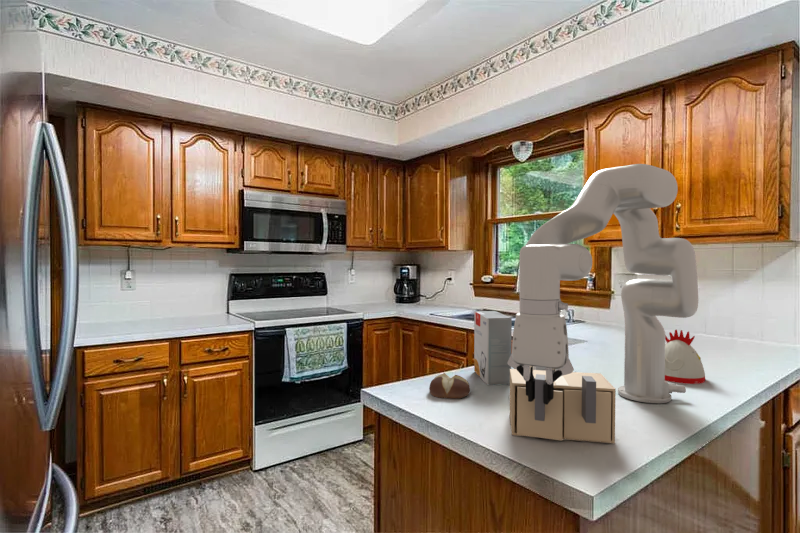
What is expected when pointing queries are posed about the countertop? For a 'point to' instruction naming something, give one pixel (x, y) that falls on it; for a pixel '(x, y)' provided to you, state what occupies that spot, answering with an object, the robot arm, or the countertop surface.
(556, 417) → the flap left
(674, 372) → the kitchen timer
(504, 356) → the hard drive box
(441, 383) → the bread
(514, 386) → the carton
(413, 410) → the countertop surface
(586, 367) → the countertop surface
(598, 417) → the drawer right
